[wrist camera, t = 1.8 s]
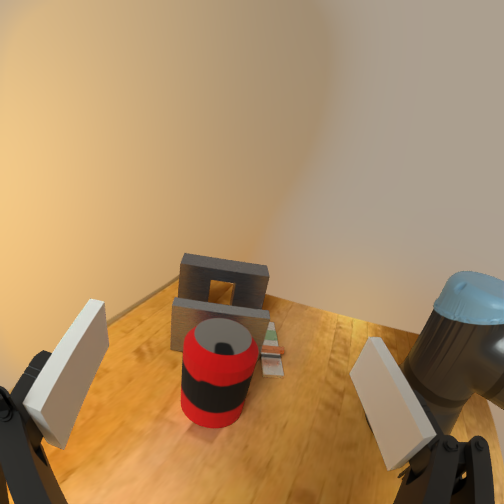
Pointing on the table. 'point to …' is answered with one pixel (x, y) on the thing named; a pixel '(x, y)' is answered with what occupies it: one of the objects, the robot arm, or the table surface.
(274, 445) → the table surface
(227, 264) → the gauge bed
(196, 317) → the grey block
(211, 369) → the soda can
